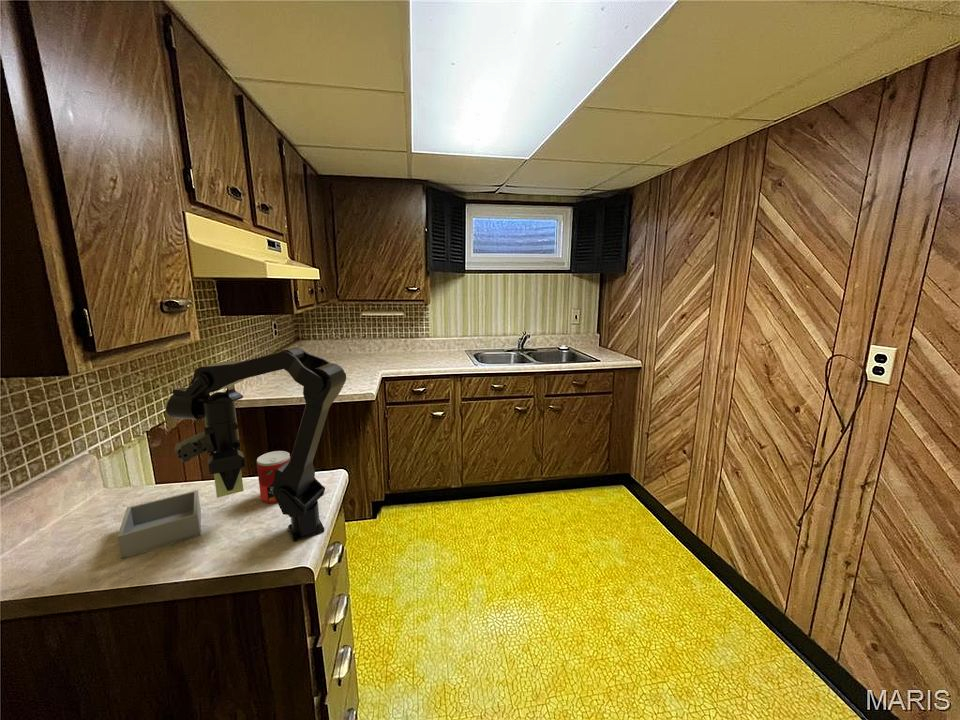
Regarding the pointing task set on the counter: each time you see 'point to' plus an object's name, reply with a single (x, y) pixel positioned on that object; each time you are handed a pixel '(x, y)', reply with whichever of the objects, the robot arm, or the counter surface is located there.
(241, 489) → the green block
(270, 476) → the canned food
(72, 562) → the counter surface
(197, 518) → the grey bin
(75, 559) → the counter surface
